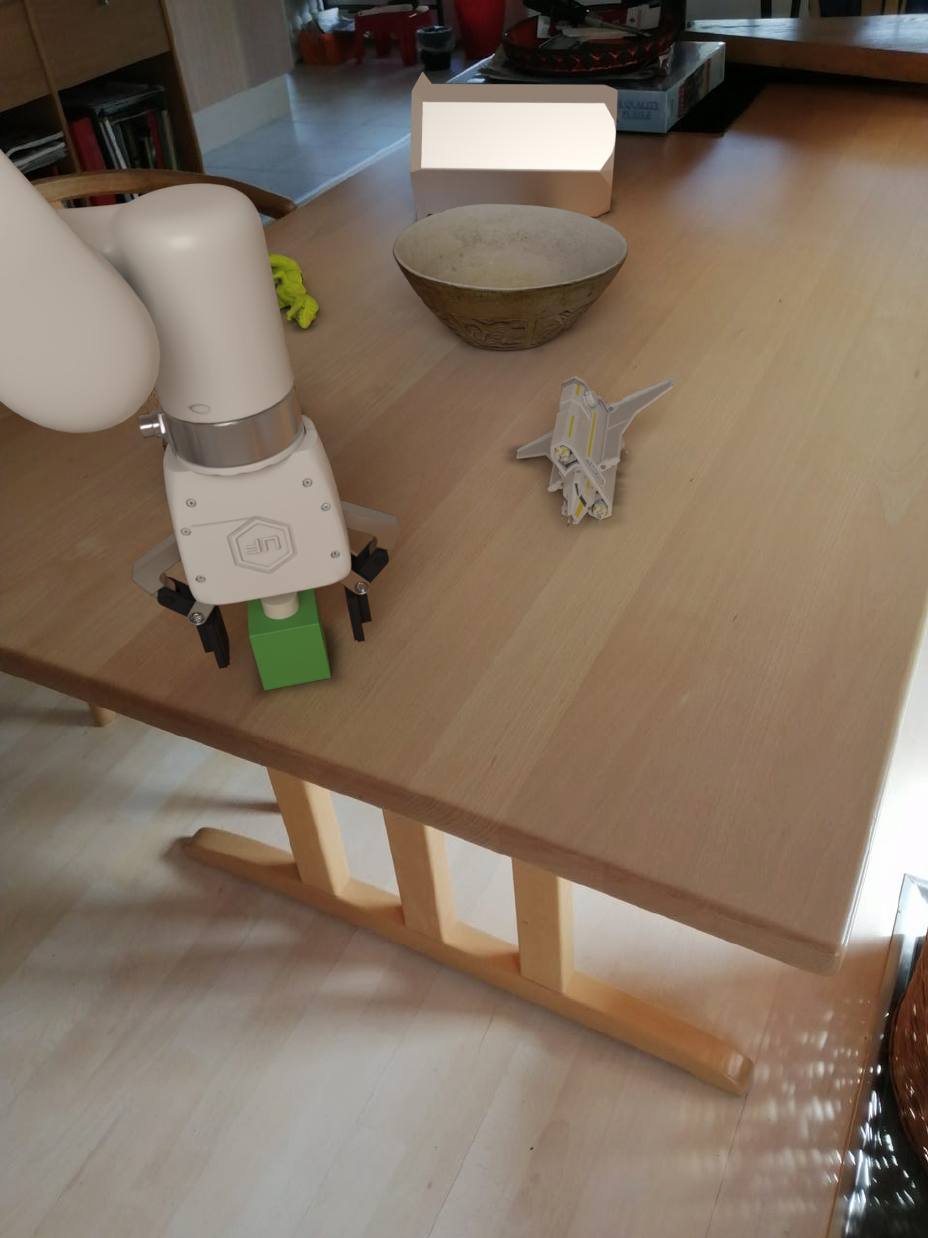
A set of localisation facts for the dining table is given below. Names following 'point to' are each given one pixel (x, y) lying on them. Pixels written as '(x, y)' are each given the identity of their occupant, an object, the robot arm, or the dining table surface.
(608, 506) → the toy spacecraft
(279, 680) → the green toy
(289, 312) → the dinosaur figurine
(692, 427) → the dining table surface
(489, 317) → the bowl
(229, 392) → the robot arm
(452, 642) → the dining table surface
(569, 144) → the white boxy piece
